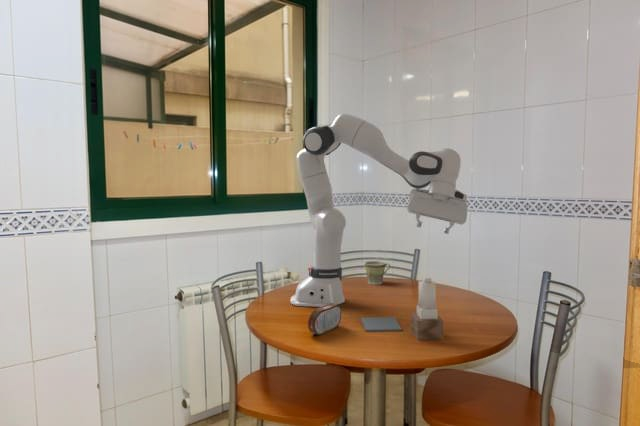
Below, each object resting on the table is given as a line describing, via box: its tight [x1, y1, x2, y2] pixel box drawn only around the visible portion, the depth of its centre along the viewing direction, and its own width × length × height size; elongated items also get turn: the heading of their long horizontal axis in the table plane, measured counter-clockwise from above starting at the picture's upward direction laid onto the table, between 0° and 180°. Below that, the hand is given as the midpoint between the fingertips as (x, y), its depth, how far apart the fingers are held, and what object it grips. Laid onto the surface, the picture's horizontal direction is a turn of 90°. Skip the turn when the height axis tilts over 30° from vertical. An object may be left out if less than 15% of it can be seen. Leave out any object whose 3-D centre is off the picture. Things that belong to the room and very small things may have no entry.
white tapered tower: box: [416, 277, 439, 319], centre depth 129 cm, size 5×5×12 cm
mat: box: [360, 316, 403, 332], centre depth 140 cm, size 12×12×1 cm
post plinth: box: [410, 312, 444, 341], centre depth 130 cm, size 8×8×9 cm
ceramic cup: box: [364, 260, 391, 286], centre depth 199 cm, size 13×10×10 cm
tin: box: [307, 303, 342, 336], centre depth 134 cm, size 15×3×8 cm, turn 141°
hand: (432, 230), depth 142 cm, fingers open, 8 cm apart
